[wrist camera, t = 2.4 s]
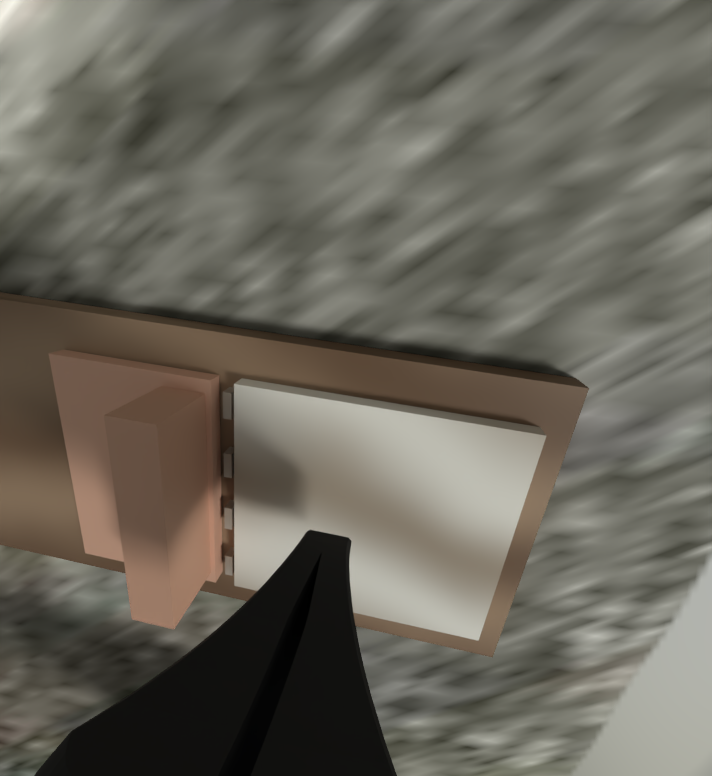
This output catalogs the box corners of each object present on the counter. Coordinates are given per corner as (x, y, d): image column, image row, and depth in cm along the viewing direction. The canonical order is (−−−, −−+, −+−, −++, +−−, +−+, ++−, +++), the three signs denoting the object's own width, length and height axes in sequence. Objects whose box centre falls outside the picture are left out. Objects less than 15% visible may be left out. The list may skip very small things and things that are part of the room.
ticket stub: (222, 571, 16) (180, 640, 13) (96, 543, 17) (29, 603, 14) (219, 375, 13) (162, 409, 10) (63, 349, 13) (-33, 375, 11)
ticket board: (488, 634, 16) (495, 672, 15) (5, 526, 19) (-30, 550, 17) (575, 378, 12) (598, 395, 11) (-61, 283, 15) (-116, 286, 13)
